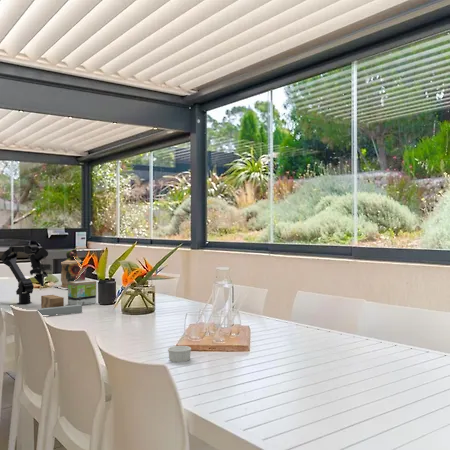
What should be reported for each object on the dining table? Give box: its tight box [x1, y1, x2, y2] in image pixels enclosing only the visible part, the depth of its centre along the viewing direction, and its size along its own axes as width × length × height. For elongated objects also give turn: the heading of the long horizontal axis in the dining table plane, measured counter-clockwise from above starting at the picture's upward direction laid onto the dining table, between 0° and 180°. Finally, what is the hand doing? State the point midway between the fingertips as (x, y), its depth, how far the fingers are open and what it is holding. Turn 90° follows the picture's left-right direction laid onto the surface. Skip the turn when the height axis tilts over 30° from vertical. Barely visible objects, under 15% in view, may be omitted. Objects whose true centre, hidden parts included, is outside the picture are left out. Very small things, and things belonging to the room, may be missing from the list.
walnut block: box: [40, 294, 65, 309], centre depth 282 cm, size 16×7×9 cm, turn 42°
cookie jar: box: [53, 247, 87, 291], centre depth 391 cm, size 25×25×32 cm
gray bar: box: [37, 305, 83, 315], centre depth 274 cm, size 24×4×4 cm, turn 126°
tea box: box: [67, 279, 97, 306], centre depth 310 cm, size 15×10×15 cm, turn 143°
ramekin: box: [167, 345, 192, 363], centre depth 184 cm, size 9×9×4 cm
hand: (42, 286), depth 302 cm, fingers closed
